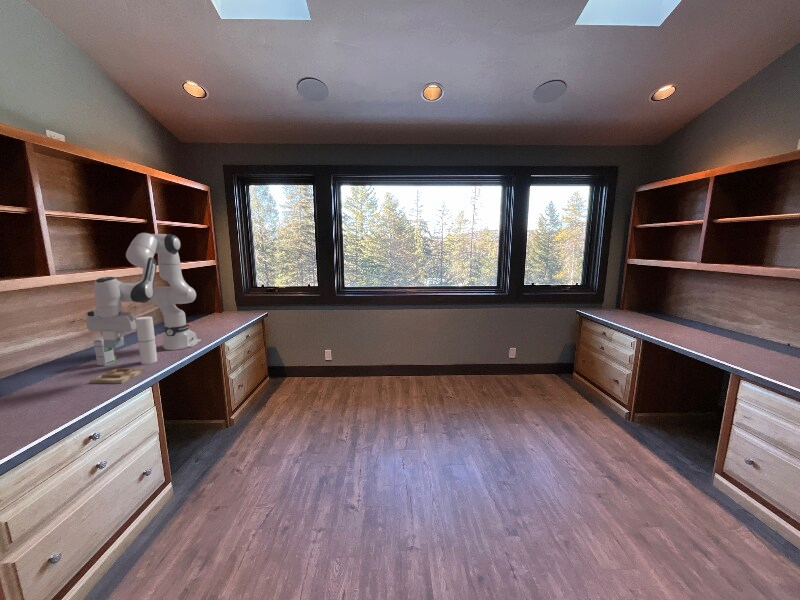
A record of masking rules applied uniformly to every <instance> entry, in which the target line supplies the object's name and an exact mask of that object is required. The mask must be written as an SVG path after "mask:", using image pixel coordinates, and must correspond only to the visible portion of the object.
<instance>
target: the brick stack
mask: <svg viewBox="0 0 800 600" xmlns="http://www.w3.org/2000/svg"><path fill="white" fill-rule="evenodd" d="M102 333H103V336H102V337H103V340H104V347H105V348H115V349H116V348H119V347H122V346H124V345H125V338H124V339H123V340H118V338H117V337H119V336H120V334H119V331H102Z"/></svg>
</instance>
